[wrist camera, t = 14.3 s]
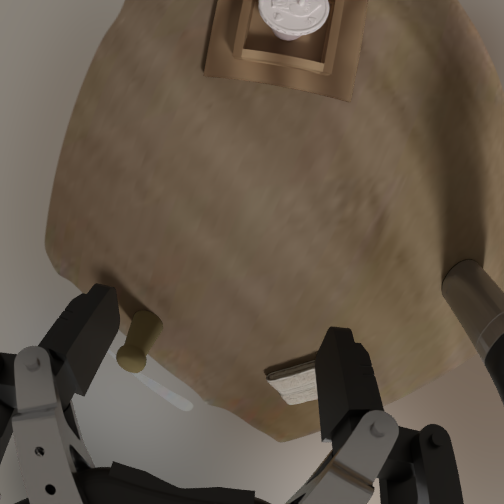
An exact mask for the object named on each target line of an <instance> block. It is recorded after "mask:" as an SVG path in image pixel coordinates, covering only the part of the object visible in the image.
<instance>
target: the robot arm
mask: <svg viewBox="0 0 504 504" xmlns="http://www.w3.org/2000/svg"><path fill="white" fill-rule="evenodd" d="M442 294H443V297H444V298H445V300H446V301H447V303H448V304H449V306H450V307H451V309H452V311H453V312H454V314H455V315H456V317H457V319H458V320H459V322H460V323H461V325H462V327H463V328H464V330H465V331H466V333H467V335H468V336H469V338H470V340H471V342H472V343H473V345H474V347H475V348H476V350H477V352H478V354H479V355H480V357H481V359H482V361H483V363H484V364H485V366H486V368H487V370H488V372H489V373H490V376H491V378H492V380H493V382H494V384H495V386H496V388H497V390H498V392H499V395H500V397H501V399H502V402H503V405H504V292H503V291H502V290H501V289H500V288H499V287H498V285H497V284H496V283H495V282H494V281H493V280H492V278H491V277H490V276H489V275H488V274H487V273H486V272H485V271H484V269H483V268H482V267H481V266H480V265H479V264H478V263H477V262H476V261H474V260H465V261H462V262H460V263H458V264H457V265H455V266H454V267H453V268H452V269H451V270H450V271H449V273H448V274H447V276H446V277H445V279H444V282H443V285H442ZM119 325H120V315H119V308H118V301H117V294H116V289H115V288H114V287H110V286H106V285H102V284H98V283H96V284H94V285H93V287H92V288H91V289H90V291H89V292H88V293H87V294H84V293H82V294H81V295H79V296H77V297H76V298H74V299H73V300H72V301H71V302H70V303H69V305H68V306H67V307H66V308H65V311H63V312H62V314H61V315H60V316H59V318H58V319H57V320H56V322H55V323H54V324H53V326H52V327H51V328H50V330H49V331H48V332H47V334H46V335H45V337H44V338H43V340H42V341H41V342H40V344H39V345H38V346H30V347H26V348H24V349H23V350H21V351H20V352H19V353H18V354H7V353H0V464H1V461H2V458H3V456H4V453H5V450H6V447H7V445H8V443H9V440H10V438H11V435H12V433H14V440H15V445H16V451H17V455H18V460H19V465H20V469H21V474H22V477H23V481H24V485H25V488H26V492H27V495H28V498H26V499H24V500H22V501H19V502H17V503H15V504H270V503H268V502H266V501H264V500H262V499H259V498H256V497H255V491H250V490H239V489H231V488H222V487H212V488H189V489H188V488H186V489H184V488H178V487H176V486H174V485H171V484H169V483H167V482H165V481H163V480H161V479H159V478H157V477H155V476H153V475H151V474H149V473H148V472H146V471H142V470H139V469H135V468H132V467H129V466H126V465H122V464H120V463H117V462H114V461H113V463H112V466H111V467H98V468H96V467H95V465H94V463H93V460H92V458H91V456H90V454H89V452H88V450H87V448H86V446H85V444H84V441H83V438H82V435H81V431H80V428H79V425H78V421H77V418H76V414H75V410H74V407H73V403H72V400H71V399H72V397H73V395H74V393H76V394H79V395H82V396H85V394H86V392H87V390H88V388H89V386H90V384H91V382H92V380H93V378H94V376H95V374H96V372H97V370H98V368H99V366H100V364H101V362H102V360H103V358H104V357H105V355H106V353H107V351H108V349H109V347H110V345H111V343H112V341H113V340H114V337H115V336H116V334H117V332H118V329H119ZM315 375H316V384H317V394H318V404H319V415H320V426H321V439H322V442H332V448H333V449H332V450H331V452H330V453H329V454H328V455H327V457H326V458H325V459H324V461H323V462H322V463H321V464H320V466H319V467H318V468H317V469H316V471H315V472H314V473H313V475H311V477H310V478H309V479H308V480H307V481H306V483H305V484H304V485H303V486H302V487H301V488H300V489H299V490H298V491H297V492H296V493H295V494H294V495H293V496H292V497H291V498H290V499H289V500H288V501H287V502H286V503H285V504H367V503H368V501H369V500H370V498H371V496H372V495H373V492H374V487H373V486H372V485H373V482H374V480H375V478H379V485H380V498H381V504H464V503H463V497H462V491H461V485H460V480H459V474H458V470H457V465H456V460H455V456H454V452H453V447H452V444H451V440H450V436H449V434H448V433H447V431H446V430H445V429H444V428H443V427H441V426H439V425H436V424H430V425H427V426H425V427H424V428H423V429H422V430H421V431H417V430H412V429H408V428H403V427H400V426H398V424H397V422H396V421H395V419H394V418H393V417H392V416H391V415H390V414H388V413H386V412H384V409H383V405H382V401H381V397H380V393H379V389H378V385H377V382H376V378H375V376H374V371H373V367H372V364H371V360H370V357H369V354H368V352H367V351H366V350H365V348H364V347H363V346H362V344H361V343H355V342H354V338H353V334H352V331H351V329H349V328H340V327H330V328H329V329H328V331H327V333H326V335H325V338H324V340H323V342H322V344H321V346H320V348H319V351H318V353H317V356H316V360H315ZM0 499H1V494H0Z"/></svg>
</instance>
